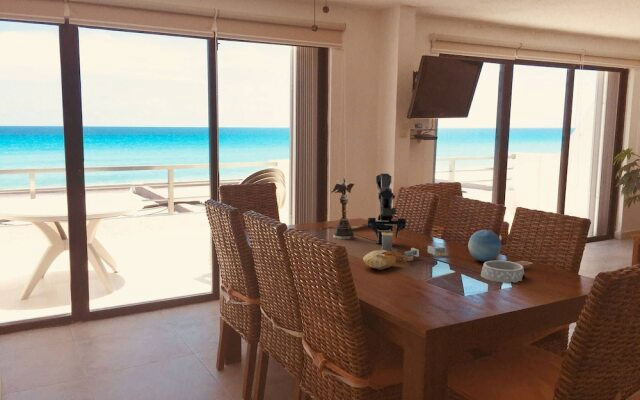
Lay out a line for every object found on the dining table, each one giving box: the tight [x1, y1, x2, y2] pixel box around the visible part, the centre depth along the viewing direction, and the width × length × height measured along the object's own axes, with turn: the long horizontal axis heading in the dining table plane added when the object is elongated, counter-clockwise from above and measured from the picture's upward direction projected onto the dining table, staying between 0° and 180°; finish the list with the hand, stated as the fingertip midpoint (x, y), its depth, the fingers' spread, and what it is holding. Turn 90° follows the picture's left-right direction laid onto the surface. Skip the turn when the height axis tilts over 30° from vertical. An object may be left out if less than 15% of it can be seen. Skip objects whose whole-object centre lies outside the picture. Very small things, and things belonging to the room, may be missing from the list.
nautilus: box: [362, 249, 409, 271], centre depth 248 cm, size 8×21×15 cm
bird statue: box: [330, 177, 355, 240], centre depth 314 cm, size 17×13×35 cm
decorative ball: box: [467, 229, 502, 263], centre depth 259 cm, size 15×15×15 cm
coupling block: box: [381, 231, 394, 253], centre depth 265 cm, size 5×5×13 cm
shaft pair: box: [402, 245, 447, 262], centre depth 267 cm, size 6×23×5 cm, turn 116°
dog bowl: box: [480, 260, 526, 284], centre depth 234 cm, size 17×18×5 cm
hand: (386, 237), depth 267 cm, fingers open, 9 cm apart
